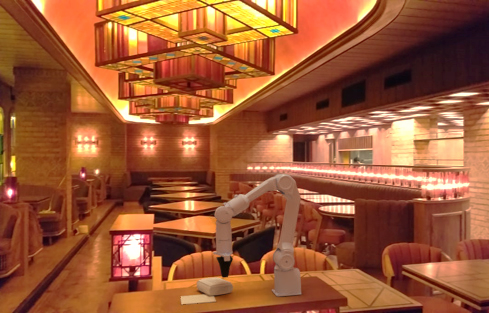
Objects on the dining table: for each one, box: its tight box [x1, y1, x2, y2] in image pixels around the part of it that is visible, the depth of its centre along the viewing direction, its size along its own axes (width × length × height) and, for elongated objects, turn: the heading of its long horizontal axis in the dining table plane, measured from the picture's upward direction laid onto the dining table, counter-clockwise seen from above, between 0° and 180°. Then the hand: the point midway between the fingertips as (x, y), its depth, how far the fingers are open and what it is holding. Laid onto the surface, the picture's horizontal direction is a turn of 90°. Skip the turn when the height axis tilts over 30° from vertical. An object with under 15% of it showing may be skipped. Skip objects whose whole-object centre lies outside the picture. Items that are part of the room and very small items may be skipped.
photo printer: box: [196, 277, 234, 296], centre depth 157 cm, size 10×4×12 cm
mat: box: [179, 293, 217, 306], centre depth 148 cm, size 12×9×1 cm
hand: (225, 277), depth 150 cm, fingers closed
